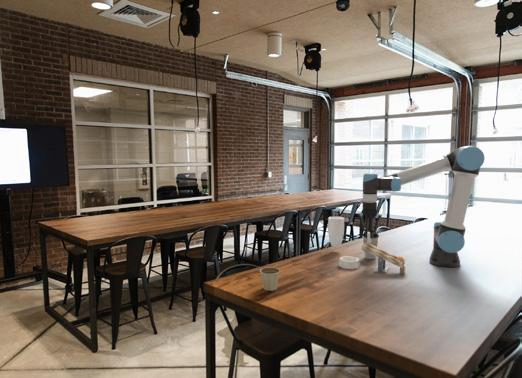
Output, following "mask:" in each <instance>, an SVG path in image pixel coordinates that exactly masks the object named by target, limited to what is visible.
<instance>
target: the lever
mask: <svg viewBox="0 0 522 378" xmlns="http://www.w3.org/2000/svg"><path fill="white" fill-rule="evenodd" d="M360 250H361V251H364V252H365V251H366V252H368V253H370V254H373V255H375V256H376V257H377V258H383V259H384V260H385V262H388V263H390V264H392V265H395V266H397V267H399V268H400V267H401V268H403V266H405V263H406V261H407V259H406V258H404V262H401V261H399V260H397V257H398V256H397V255H394V254H392V253H390V252H388V251H385V250H383V249H381V248H379V247H378V246H377V247H376V246H374V245H371V244H368V243H366V242H365V244H364V243H363V244H362V246H361V248H360Z"/></svg>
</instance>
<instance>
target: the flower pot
mask: <svg viewBox="0 0 522 378" xmlns="http://www.w3.org/2000/svg"><path fill="white" fill-rule="evenodd" d="M259 272H260V276H261V279H262V287H263V290H265V291H271V292H273V291H277V289H278V283H279V275H280V272H281V269H280V268H278V267H274V266H273V267H272V266H271V267H263V268H260V269H259Z"/></svg>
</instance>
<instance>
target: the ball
mask: <svg viewBox="0 0 522 378" xmlns="http://www.w3.org/2000/svg"><path fill="white" fill-rule="evenodd" d="M397 260H399V261H401V262H404V260H405V258H404V257H403V256H397Z"/></svg>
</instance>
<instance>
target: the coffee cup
mask: <svg viewBox="0 0 522 378" xmlns="http://www.w3.org/2000/svg"><path fill="white" fill-rule="evenodd" d="M368 232H370V230H369V231H368ZM361 237H362V238H363V245H364V244H365V242H366V243H367V238H365V232H364V231H363V233H362V235H361ZM379 237H380V236H379V233H378V232H377V231H376V232H373V238H372V239H371V245H374V246H376V247H377V248H378V244H379V241H378V239H379ZM376 257H377V256H375V255H373V254H370V253H368V252H366V251H364V258H365V259H368V260H375V259H376Z"/></svg>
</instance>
